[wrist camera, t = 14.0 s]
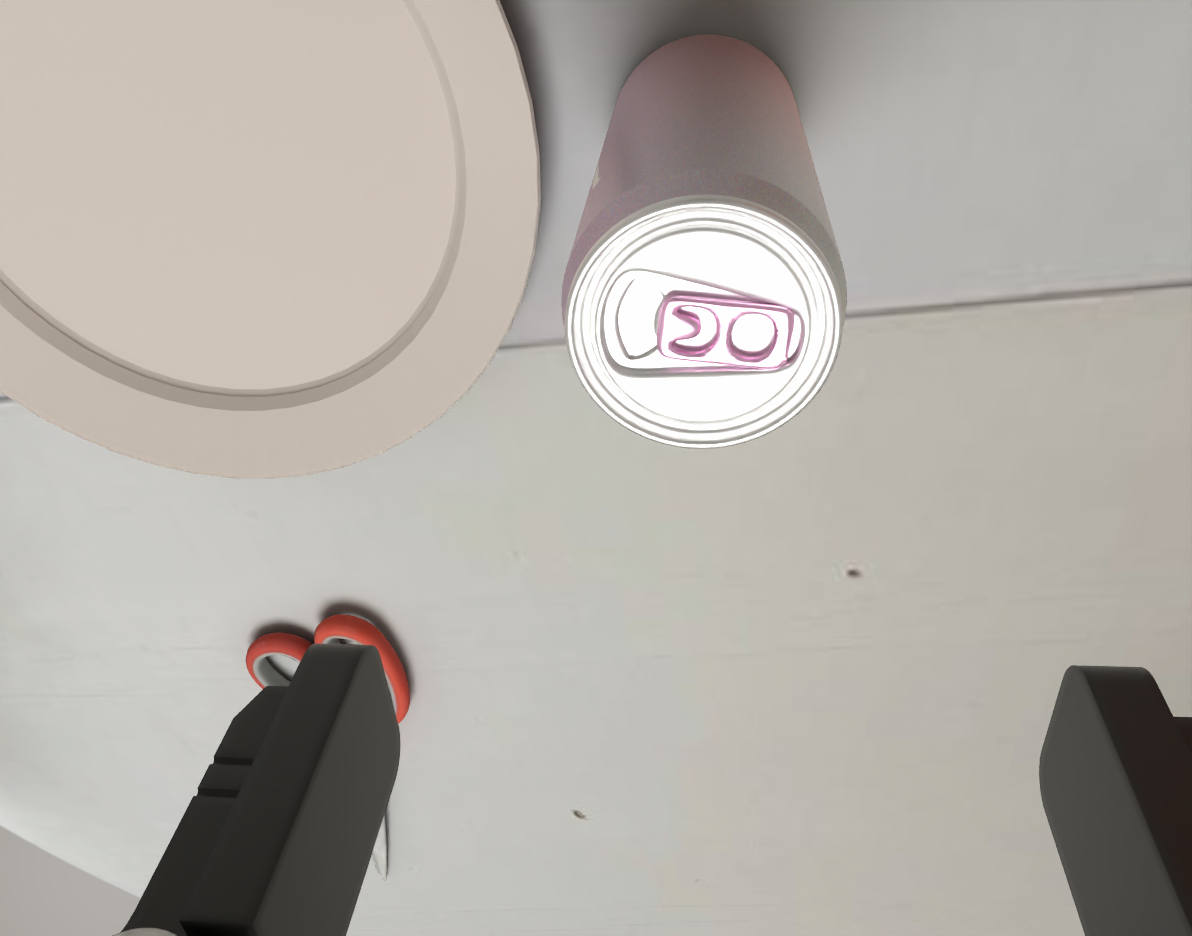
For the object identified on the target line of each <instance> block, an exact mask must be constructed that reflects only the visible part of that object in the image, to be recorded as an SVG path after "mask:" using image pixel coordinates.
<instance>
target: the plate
mask: <svg viewBox="0 0 1192 936" xmlns="http://www.w3.org/2000/svg"><path fill="white" fill-rule="evenodd" d="M540 205H541V190H540V151H539V144H538V137H537V131H536V124H535V117H534V110H533V103H532V98H531V95H530V91H529V87H528V83H527V80H526V76H525V72H524V68H523V65H522V61H521V57H520V53H519V50H518V46H517V44H516V41H515V39H514V36H513V33H512V31H511V28H510V26H509V23H508V21H507V18H506V16H505V13H504V11H503V8H502V5H501V3H500V0H0V392H1V393H3V394H4V395H6V396H7V397H9V398H11V399H12V400H14V401H15V402H17V403H18V404H20V405H22V406H23V407H25V408H26V409H28V410H30V411H31V412H33V413H34V414H36V415H37V416H39V417H41V418H43V419H45V420H47V421H49V422H51V423H53V424H55V425H57V426H59V427H60V428H62V429H64V430H66V431H68V432H70V433H72V434H74V435H76V436H78V437H80V438H83V439H85V440H88V441H90V442H92V443H95V444H97V445H99V446H102V447H104V448H107V449H109V450H111V451H114V452H116V453H120V454H123V455H126V456H129V457H132V458H135V459H138V460H142V461H145V462H148V463H151V464H154V465H158V466H163V467H168V468H172V469H177V470H181V471H186V472H190V473H196V474H204V475H213V476H221V477H230V478H280V477H290V476H300V475H309V474H313V473H318V472H323V471H327V470H332V469H336V468H341V467H344V466H347V465H350V464H353V463H356V462H359V461H361V460H364V459H367V458H370V457H373V456H376V455H378V454H380V453H382V452H384V451H386V450H388V449H390V448H392V447H394V446H396V445H398V444H399V443H401V442H403V441H405V440H407V439H409V438H411V437H413V436H414V435H415V434H417V433H418V432H420V431H421V430H423V429H424V428H425V427H427V426H428V425H430V424H431V423H433V422H434V421H435V420H437V419H438V418H440V417H441V416H442V415H443V414H444V413H445V412H446V411H447V410H448V409H449V408H450V407H452V406H453V405H454V404H455V403H456V402H457V401H458V400H459V399H460V398H461V397H462V396H463V395H464V394H465V393H466V392H467V391H468V390H469V389H470V388H471V386H472V385H473V384H474V383H475V381H476V380H477V379H478V378H479V376H480V375H481V374H482V372H483V371H484V370H485V369H486V367H487V366H488V365H489V364H490V362H491V361H492V359H493V357H494V355H495V354H496V352H497V350H498V349H499V347H500V345H501V343H502V342H503V340H504V338H505V336H506V335H507V333H508V331H509V330H510V327H511V325H512V323H513V320H514V318H515V315H516V313H517V310H518V308H519V305H520V303H521V300H522V298H523V295H524V293H525V290H526V286H527V282H528V278H529V274H530V270H531V266H532V262H533V258H534V254H535V249H536V241H537V232H538V223H539V214H540Z"/></svg>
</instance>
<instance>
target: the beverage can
mask: <svg viewBox="0 0 1192 936" xmlns="http://www.w3.org/2000/svg"><path fill="white" fill-rule="evenodd" d="M846 306H847V289H846V280H845V274H844V270H843V266H842V262H841V258H840V255H839V251H838V248H837V244H836V241H835V237H834V234H833V230H832V227H831V223H830V220H829V216H828V213H827V209H826V206H825V203H824V199H823V196H822V192H821V189H820V185H819V182H818V178H817V175H816V171H815V168H814V164H813V161H812V157H811V154H810V150H809V147H808V143H807V140H806V136H805V133H804V129H803V126H802V122H801V119H800V115H799V112H798V108H797V105H796V101H795V98H794V95H793V92H792V90H791V88H790V85H789V83H788V81H787V80H786V78H785V76H784V75H783V73H782V72H781V70H780V69H779V68H778V67H777V65H776V64H775V63H774V62H773V61H772V60H771V59H770V58H769V57H768V56H767V55H765V54H764V53H763V52H761V51H760V50H759V49H757V48H755V47H754V46H752V45H750V44H748V43H746V42H744V41H741V40H739V39H736V38H732V37H728V36H723V35H713V34H703V35H693V36H689V37H684V38H681V39H678V40H675V41H673V42H670V43H668V44H666V45H664V46H662V47H660V48H659V49H657V50H656V51H654V52H653V53H651V54H650V55H649V56H648V57H646V58H645V59H644V60H643V61H642V62H641V63H640V64H639V65H638V66H637V67H636V68H635V69H634V71H633V72H632V73H631V75H630V76H629V77H628V79H627V81H626V82H625V84H624V86H623V87H622V89H621V92H620V94H619V96H618V99H617V102H616V105H615V108H614V111H613V115H612V118H611V121H610V125H609V128H608V131H607V135H606V138H605V141H604V145H603V148H602V151H601V155H600V158H599V161H598V165H597V168H596V171H595V174H594V178H593V181H592V184H591V188H590V191H589V194H588V198H587V201H586V204H585V208H584V211H583V214H582V218H581V221H580V224H579V228H578V231H577V234H576V238H575V241H574V244H573V248H572V251H571V254H570V258H569V261H568V264H567V268H566V272H565V275H564V281H563V287H562V316H563V323H564V328H565V338H566V344H567V349H568V353H569V357H570V360H571V363H572V366H573V368H574V371H575V373H576V375H577V377H578V379H579V381H580V383H581V384H582V386H583V387H584V389H585V391H586V392H587V393H588V395H589V396H590V397H591V399H592V400H593V401H594V402H595V403H596V404H597V405H598V406H599V407H600V408H601V409H602V410H603V411H604V412H605V413H606V414H607V415H608V416H610V417H611V418H612V419H613V420H615V421H616V422H617V423H619V424H620V425H622V426H623V427H625V428H627V429H628V430H630V431H632V432H634V433H636V434H638V435H640V436H642V437H645V438H647V439H650V440H653V441H656V442H659V443H662V444H666V445H671V446H676V447H683V448H694V449H709V448H721V447H728V446H733V445H737V444H741V443H745V442H748V441H751V440H754V439H757V438H759V437H762V436H764V435H766V434H768V433H770V432H772V431H774V430H776V429H777V428H779V427H781V426H783V425H784V424H785V423H787V422H788V421H790V420H791V419H792V418H794V417H795V416H796V415H798V414H799V413H800V412H801V411H802V410H803V409H804V408H805V407H806V406H807V405H808V404H809V403H810V402H811V401H812V400H813V399H814V397H815V396H816V395H817V394H818V393H819V391H820V390H821V388H822V387H823V385H824V384H825V382H826V380H827V379H828V377H829V375H830V373H831V371H832V369H833V367H834V364H835V361H836V359H837V356H838V352H839V348H840V344H841V339H842V331H843V325H844V320H845V315H846Z"/></svg>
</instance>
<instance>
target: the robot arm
mask: <svg viewBox="0 0 1192 936" xmlns="http://www.w3.org/2000/svg"><path fill="white" fill-rule="evenodd" d="M399 758H400V732H399V726H398V722H397V718H396V714H395V710H394V706H393V703H392V699H391V695H390V691H389V687H388V683H387V679H386V676H385V672H384V668H383V664H382V660H381V657H380V653H379V651H378V649H377V648H376V647H375V646H374V645H357V644H318V643H314V644H312V645H311V646H310V647H309V648H308V649H307V650H306V652H305V653H304V655H303V657H302V659H301V662H300V664H299V666H298V668H297V670H296V672H295V674H294V676H293V679H292V681H291V683H290V685H289V686H266V687H265V688H264V689H263V690H262V691H261V692H260V693H259V694H258V695H257V696H256V697H255V698H254V699H253V700H252V701H251V702H250V703H249V704H248V705H247V706H246V707H245V708H244V709H243V710H242V711H241V712H240V713H239V714H237V715H236V716H235V717H234V718H233V720H232V722H231V724H230V726H229V728H228V730H227V732H226V734H225V736H224V738H223V740H222V742H221V744H220V746H219V748H218V749H217V751H216V753H215V755H214V763H213V764H210V765H209V767H208V769H207V771H206V773H205V775H204V777H203V779H202V781H201V783H200V785H199V786H198V794H197V796H193V798H192V800H191V802H190V804H189V806H188V808H187V810H186V812H185V814H184V816H183V818H182V820H181V822H180V823H179V825H178V827H177V829H176V831H175V833H174V835H173V837H172V839H171V841H170V843H169V845H168V847H167V849H166V851H165V853H164V855H163V857H162V859H161V860H160V862H159V864H158V866H157V868H156V870H155V872H154V874H153V876H152V878H151V880H150V882H149V884H148V886H147V888H146V890H145V892H144V894H143V896H142V897H141V899H140V901H139V904H138V905H137V907H136V909H135V911H134V913H133V915H132V916H131V918H130V920H129V921H128V923H127V925H126V926H125V927H124V929H123V930H122V931H121V932H120V933H118V934H115V935H113V936H346V933H347V930H348V927H349V924H350V921H351V918H352V914H353V911H354V908H355V905H356V902H357V899H358V896H359V893H360V889H361V886H362V883H363V880H364V877H365V874H366V871H367V867H368V864H369V861H370V858H371V855H372V852H373V849H374V845H375V842H376V839H377V836H378V833H379V830H380V827H381V824H382V820H383V817H384V814H385V811H386V808H387V805H388V802H389V798H390V795H391V792H392V789H393V786H394V783H395V779H396V776H397V771H398V765H399ZM1039 778H1040V790H1041V796H1042V801H1043V806H1044V809H1045V813H1046V816H1047V819H1048V822H1049V825H1050V828H1051V831H1052V834H1053V837H1054V840H1055V844H1056V847H1057V850H1058V853H1059V856H1060V859H1061V862H1062V865H1063V868H1064V871H1065V874H1066V877H1067V881H1068V884H1069V887H1070V890H1071V893H1072V896H1073V899H1074V902H1075V905H1076V908H1077V911H1078V914H1079V918H1080V921H1081V924H1082V927H1083V930H1084V933H1085V936H1192V717H1173V715H1172V713H1171V711H1170V709H1169V707H1168V705H1167V703H1166V701H1165V699H1164V697H1163V695H1162V693H1161V691H1160V689H1159V687H1158V685H1157V683H1156V681H1155V680H1154V678H1153V676H1152V675H1151V674H1150V672H1149V671H1147V670H1146V669H1145V668H1142V667H1110V666H1070V667H1069V668H1068V669H1067V670H1066V672H1065V674H1064V677H1063V680H1062V683H1061V687H1060V690H1059V693H1058V697H1057V700H1056V704H1055V707H1054V710H1053V714H1052V717H1051V721H1050V724H1049V727H1048V731H1047V734H1046V737H1045V741H1044V744H1043V748H1042V751H1041V756H1040V766H1039Z"/></svg>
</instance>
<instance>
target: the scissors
mask: <svg viewBox="0 0 1192 936" xmlns="http://www.w3.org/2000/svg"><path fill="white" fill-rule="evenodd" d="M337 638H342V639H347V640H351V641H354V642H356V643H358V644H359V645H374V646H375V647H376V648H377V649H378V651H379V653H380V657H381V660H382V664H383V668H384V672H385V676H386V679H387V683H388V686H389V689H390V693H391V697H392V703H393V706H394V710H395V714H396V718H397V722H398V723H400V722H401V721H402V720H403V718H404V717H405V715H406V714H407V712H408V709H409V705H410V693H409V685H408V680H407V677H406V674H405V671H404V668H403V666H402V664H401V662H400V659H399V657H398V656H397V654H396V652H395V651H394V649H393V647H392V646H391V644H390V643H389V642H388V640H387V639H386V638H385V637H384V635H383V634H382V633H381V632H380V631H379V630H378V629H377V628H376V627H375V626H374V625H372V624H371V623H369V622H367V621H365V620H363V619H361V618H358V617H355V616H351V615H333V616H330V617H328V618H326V619H325V620H323V621H322V622H321V623H320V624H319V625H318V626H317V628H316V631H315V635H314V640H315V643H318V644H341V643H340V642H339V641H338V639H337ZM311 645H312V643H310V642H309V641H308V640H306V639H304V638H302V637H299V636H297V635H293V634H289V633H271V634H266V635H264V636H261V637H260V638H258V639H256V640H255V641H254V642H253V643H252V644H251V646H250V647H249V649H248V651H247V655H246V665H247V669H248V671H249V673H250V675H251V676H252V678H253V679H254V680H255V682H256V683H257V684H258V685H259V686H260V687H261V688H262V689H264V688H265V687H266V686H289V685H290V683H291V682H290V681H289V680H287V679H285V678H284V677H283V676H281V675H280V674H279V673H278V672H277V671H276V670H275V669H274V668H273V667H272V666H271V665H270V664H269V663H268V661H267V659H266V656H269V655H283V656H286V657H289V658H291V659H293V660H295V661H297V662H299V663H300V662H301V659H302V657H303V655H304V653H305V652H306V650H307V649H308V648H309V647H310V646H311ZM386 841H387V840H386V823H385V814H384V817H383V820H382V824H381V827H380V830H379V833H378V836H377V839H376V842H375V845H374V849H373V852H372V856H373V859H374V862H375V866H376V869H377V871H378V872H379V873H380V874H381V876H382V878H383V880H385V881H386V879H387V875H386V874H387V842H386Z"/></svg>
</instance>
